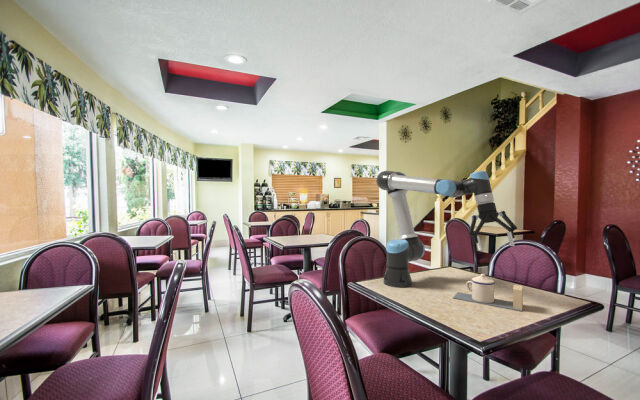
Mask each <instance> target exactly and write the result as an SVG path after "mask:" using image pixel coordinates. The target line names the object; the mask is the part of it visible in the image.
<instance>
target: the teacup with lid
mask: <svg viewBox="0 0 640 400" xmlns="http://www.w3.org/2000/svg"><path fill="white" fill-rule="evenodd" d="M465 283H466V284H465V285H466V289H467V291H469V292H471V295H472V299H473V300H475V301H477V302H481V303H493V302H494V299H495V281H494V279H491V278H489V277H487V276H486V274H485V273H481V274H480V275H477V276H475V277H472V278H471V280H468V281H466V282H465ZM470 283H471V288H470V285H469V284H470Z"/></svg>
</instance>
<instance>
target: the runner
mask: <svg viewBox="0 0 640 400" xmlns="http://www.w3.org/2000/svg"><path fill="white" fill-rule="evenodd" d="M523 287H524V286H523V285H518V284H513V287H512V301H510V300H504V299H499V298H494V302H493V303H481V302H477V301H475V300H473V299H472V293H471V294H470V293H465V292H460V291H459V292H457V293H456V294H455V295H454V296H453V297H452V298H453V299H455V300H459V301H463V302H470V303H474V304H481V305H487V306H489V307H490V306H491V307H494V308H495V307H496V308H501V309H505V310H510V311H511V310H512V311H517V312H523V307H524V303H523V302H524V301H523V300H524V295H523V293H524V289H523Z"/></svg>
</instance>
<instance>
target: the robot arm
mask: <svg viewBox="0 0 640 400" xmlns="http://www.w3.org/2000/svg"><path fill="white" fill-rule="evenodd" d="M490 182H491V181H490V178H489V175H488V172H487V171H485V170H479V171H475V172H471V173H470V174H469V178H467V179H463V180H451V179H445V178H444V179H442V178H441V179H440V178H431V177H424V176H423V177H420V176H412V175H411V176H410V175H406V174H405V173H403V172H400V171H392V170H382V171H381V172H380V173H378V175H377V177H376V186H378V188H379V189H381V191H382V190H383V191H386V192H387V195H388V196H389V197H391V202H392V206H393V211H394V215H395V219H396V225H397V229H398V233H399V236H398V238H397V239H392V240H388V242H386V248H385V252H386V269H385V272H384V276H383V284H384V285H386V286H389V287H395V288H407V287H411V286H413V280H412V277H411V274H410V273H411V272H410V270H409V263H410V262H414V261H418V260H420V259H421V258H423V256H424V255H425V252H426V250H425V249H426V247H425V245H424V243H423V242H422V241H421V240H420V238H419V235H417V234H416V233H415V229H414V224H413V220H412V215H411V211H410V208H409V204H408V203H409V202H408V198H407V193H408V191H412V192H419V193H426V194H433V195H440V196H444V197H449V198H451V199H452V198H459V197H462V196H466V195H472V194H473V195H474V198H475V202H476V203H475V204H476V205H477V206H476V208H477V212H478V214H477V215H476V214H473V215H471V223H470V227H469V230H468V236H469V237H472V238H473V241H474V243H475V244H477V245H476V246H477V248H478V249H477V250H478V251H483V248H482V243H481V239H480V236H479V235H478V234H479V233H480V231H481V229H482V228H483V226H484V224H489V223H497V224H498V225H500V226H501V227H502V228H504V229H505V230H506V235H507V239H508V243H509V246H510V247H515V243H514V239H515V233H514V231H515V230H518V227H517V225H516V224H515V223H514V222H513V221H512V220H511V218H510V217H509V216H508V215H507V214H506V211H505V210H500V211H497V207H496V206H497V205H496V202H495V199H494V193H493V191H492V190H493V189H492V187H491V186H492V185H491V183H490ZM499 216H500V217H502V219H503V221H502V220H501V219H500V218H498V217H499ZM478 219H480V221H479V223H478V226H477V227H476V224H477V220H478ZM504 221H505V222H506V223H505V222H504ZM475 227H476V229H475Z"/></svg>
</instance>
